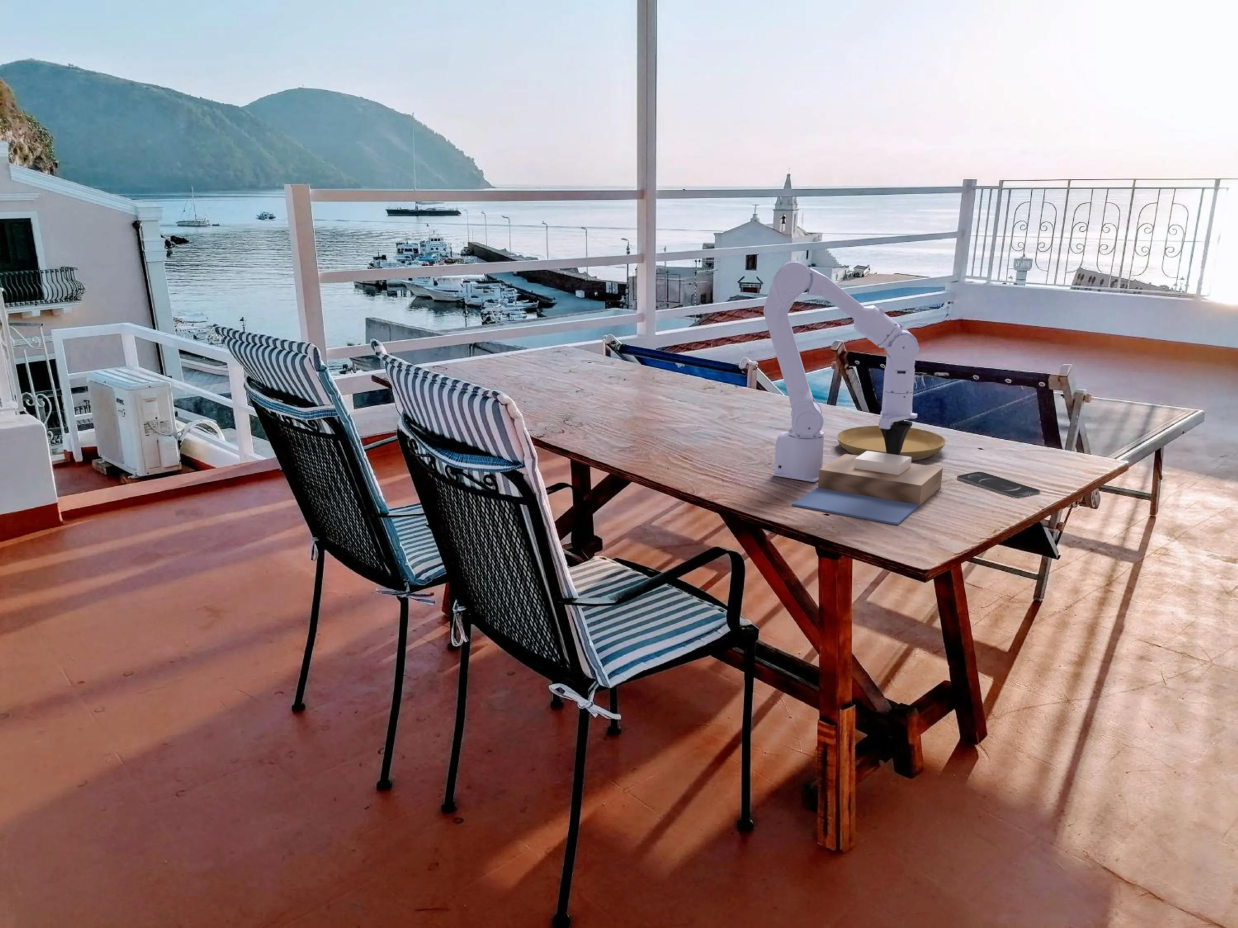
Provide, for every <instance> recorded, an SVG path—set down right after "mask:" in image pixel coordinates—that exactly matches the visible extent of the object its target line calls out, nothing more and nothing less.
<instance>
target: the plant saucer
mask: <svg viewBox="0 0 1238 928" xmlns="http://www.w3.org/2000/svg"><path fill="white" fill-rule="evenodd" d="M836 438H837V439H836V440H837V441H838V442H837V443H839V445H840V446H841V447H842V448H843V449H844V450H846V451H847V452H848V453H850V455H857V456H860V455H861V454H863V453H864V452H866V451H872V452H879V453H886V447H885V441H884V437H883V434H882V432H881V430H880V428H879V425H864V426H856V427H850V428H847V429H843V430H841V431H839V432H838V433H837V435H836ZM946 443H947V440H946V438H945V437H944V436H942V435H940V434H938V433H936V432H932V431H930V430H926V429H921V428H917V427H911V428H910V429H909V431H908V433H907V435H906V437H905V440H904V443H903V446H902V450H901V453H900V455H901V456H908V457H911V462H915V461H921V460H925V459H926V460H927V459H929V458H931V457H933V456H934V455H936V454H938V453H939V452H940V451H941V450H942V449H943V448H944V446H945V445H946Z"/></svg>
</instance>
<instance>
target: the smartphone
mask: <svg viewBox="0 0 1238 928" xmlns="http://www.w3.org/2000/svg"><path fill="white" fill-rule="evenodd" d="M956 480H957V481H960V482H963V483H967V484H969V485H971V486H972V485H973V486H975V487H979V488H982V489H985V490H988V491H991V492H993V493H994V492H995V493H998V494H1000V495H1003V494H1004V496H1006V495H1007V496H1006V497H1010V498H1013V497H1015V498H1014V499H1021V498H1020V497H1022V498H1027V497H1030V496H1029V495H1031V496H1035V495H1034V494H1036V495H1040V494H1041V490H1040V489H1038V488H1034V487H1032V486H1028V485H1025V484H1022V483H1019V482H1015V481H1012V480H1009V479H1006V478H1004V477H1000V476H997V475H993V474H991V473H987V472H985V471H973V472H969V473H968V472H967V473H965V474H964V473H963V474H959V475H957V477H956ZM1039 493H1040V494H1039ZM1026 496H1027V497H1026Z"/></svg>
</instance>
